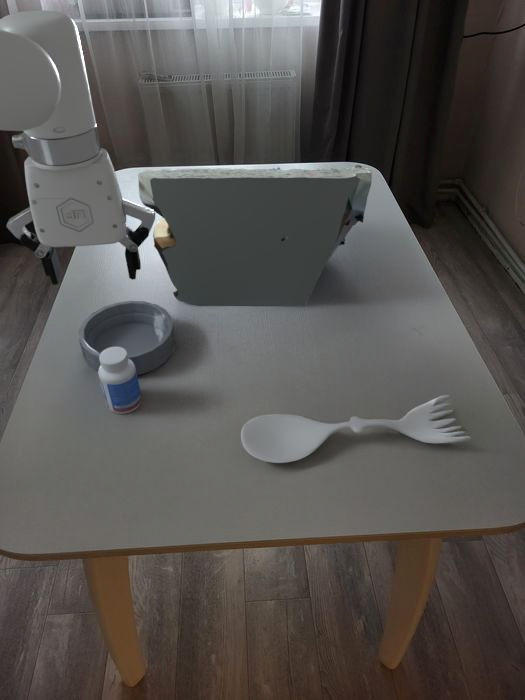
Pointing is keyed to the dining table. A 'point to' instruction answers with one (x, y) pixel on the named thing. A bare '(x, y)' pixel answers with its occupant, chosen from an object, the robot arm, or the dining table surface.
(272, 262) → the basket
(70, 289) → the dining table surface
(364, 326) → the dining table surface
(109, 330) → the pan
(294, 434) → the spoon
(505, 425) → the dining table surface
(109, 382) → the pill bottle
